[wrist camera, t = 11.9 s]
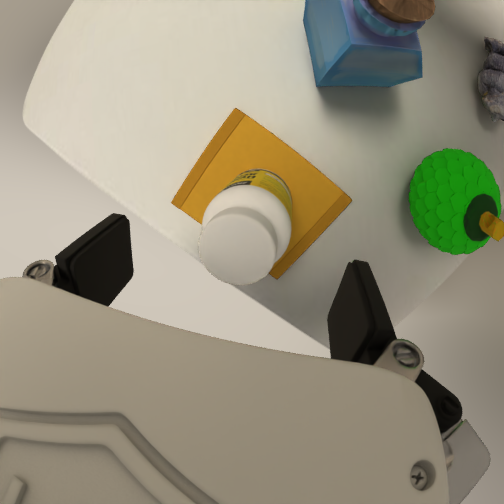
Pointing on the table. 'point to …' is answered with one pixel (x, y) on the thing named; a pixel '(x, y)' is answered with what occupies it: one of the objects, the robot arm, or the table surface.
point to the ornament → (455, 202)
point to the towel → (269, 158)
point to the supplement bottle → (246, 227)
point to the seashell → (493, 79)
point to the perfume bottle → (365, 40)
